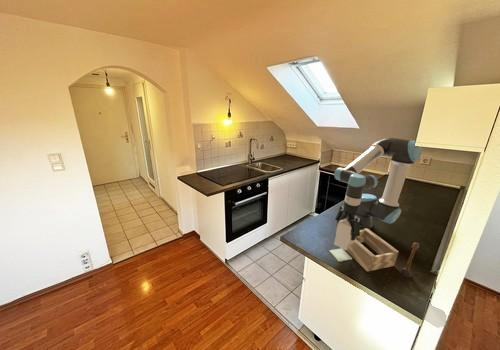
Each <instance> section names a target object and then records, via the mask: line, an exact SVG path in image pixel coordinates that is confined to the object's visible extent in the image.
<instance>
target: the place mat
mask: <svg viewBox="0 0 500 350" xmlns="http://www.w3.org/2000/svg"><path fill="white" fill-rule="evenodd" d="M328 251H329V253H330V254H331V255H332V256H333V258H335V260H337V262H338V263H339V262H345V261H351V260H353V257H352V256H351V255H350V254H349V253H348V252H347V251H346V250H344V249H342V248H340V247H339V248H336V249H331V250H330V249H329V250H328Z"/></svg>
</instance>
